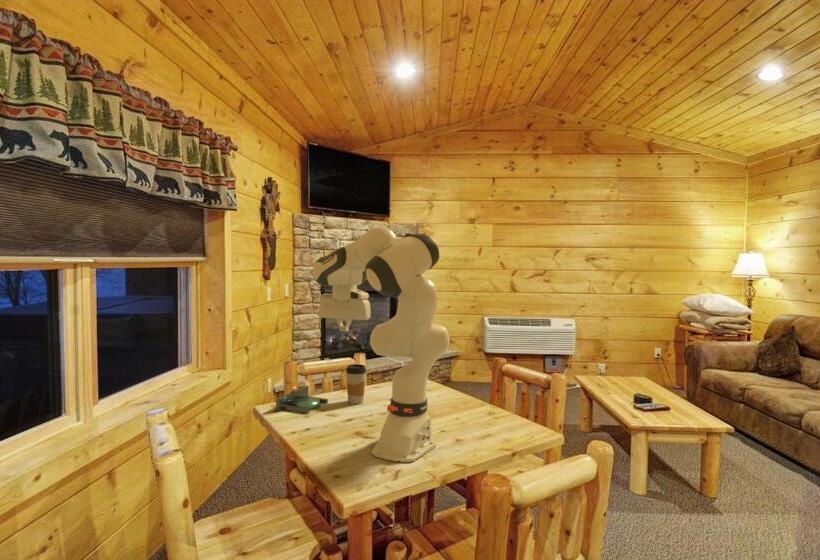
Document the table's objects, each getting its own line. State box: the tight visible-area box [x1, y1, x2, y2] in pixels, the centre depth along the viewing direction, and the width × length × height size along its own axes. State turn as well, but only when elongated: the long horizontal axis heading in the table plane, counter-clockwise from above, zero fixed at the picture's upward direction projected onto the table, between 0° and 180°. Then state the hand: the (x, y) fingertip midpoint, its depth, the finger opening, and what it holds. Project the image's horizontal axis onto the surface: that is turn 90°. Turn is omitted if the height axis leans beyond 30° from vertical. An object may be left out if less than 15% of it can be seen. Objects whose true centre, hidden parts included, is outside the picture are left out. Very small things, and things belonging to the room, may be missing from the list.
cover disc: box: [293, 396, 321, 411], centre depth 181 cm, size 10×10×2 cm
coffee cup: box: [345, 363, 367, 405], centre depth 188 cm, size 8×8×15 cm
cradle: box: [275, 385, 329, 415], centre depth 182 cm, size 20×13×7 cm, turn 159°
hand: (344, 331), depth 167 cm, fingers closed
